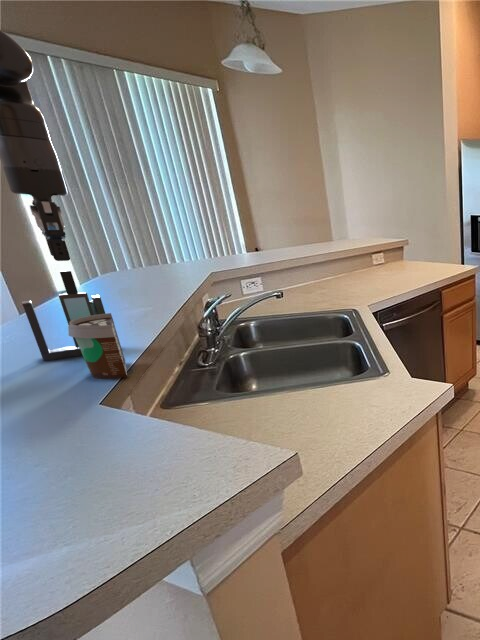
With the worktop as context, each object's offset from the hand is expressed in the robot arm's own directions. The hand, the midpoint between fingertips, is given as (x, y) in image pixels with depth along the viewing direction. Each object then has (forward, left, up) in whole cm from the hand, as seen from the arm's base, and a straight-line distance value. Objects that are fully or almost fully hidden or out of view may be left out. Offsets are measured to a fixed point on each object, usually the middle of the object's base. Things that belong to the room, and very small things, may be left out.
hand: (60, 258), depth 86 cm
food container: (+6, -16, -20) cm, 26 cm away
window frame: (-2, 0, -19) cm, 19 cm away
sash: (0, 0, -18) cm, 18 cm away
